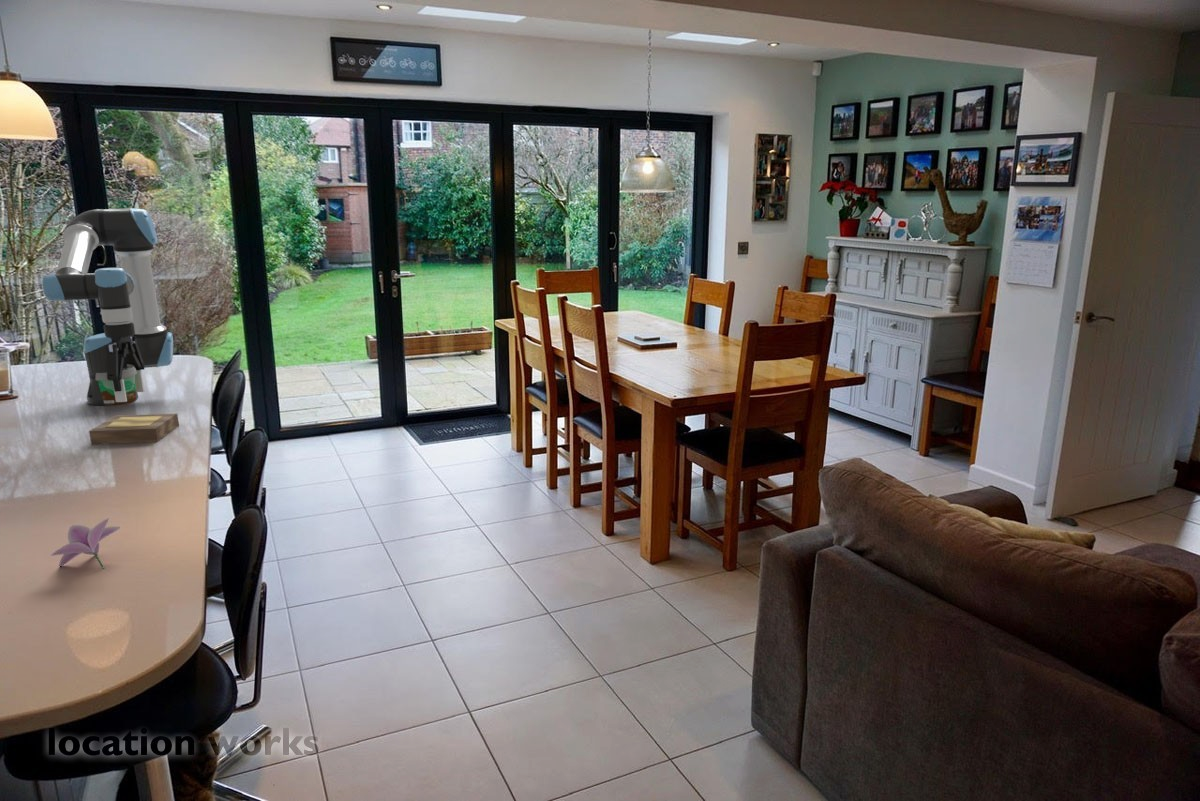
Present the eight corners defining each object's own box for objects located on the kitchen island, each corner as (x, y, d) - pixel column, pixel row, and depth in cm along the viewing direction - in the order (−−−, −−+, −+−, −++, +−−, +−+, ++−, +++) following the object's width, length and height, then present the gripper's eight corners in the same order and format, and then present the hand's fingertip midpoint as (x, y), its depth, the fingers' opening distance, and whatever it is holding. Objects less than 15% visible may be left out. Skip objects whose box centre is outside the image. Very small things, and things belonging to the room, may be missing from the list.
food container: (118, 408, 224) (112, 374, 221) (100, 407, 225) (94, 373, 222) (151, 397, 235) (146, 364, 233) (133, 396, 237) (128, 363, 234)
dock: (117, 428, 241) (115, 415, 240) (179, 425, 243) (177, 412, 242) (91, 444, 225) (88, 430, 224) (157, 441, 227) (155, 427, 226)
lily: (136, 552, 160) (111, 512, 159) (132, 552, 150) (105, 509, 149) (73, 585, 154) (47, 543, 154) (64, 588, 144) (36, 543, 143)
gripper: (122, 316, 236) (134, 387, 242) (83, 329, 214) (97, 407, 219) (149, 316, 237) (160, 386, 243) (113, 329, 215) (126, 406, 220)
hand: (130, 396), depth 231 cm, fingers closed on food container, 11 cm apart
